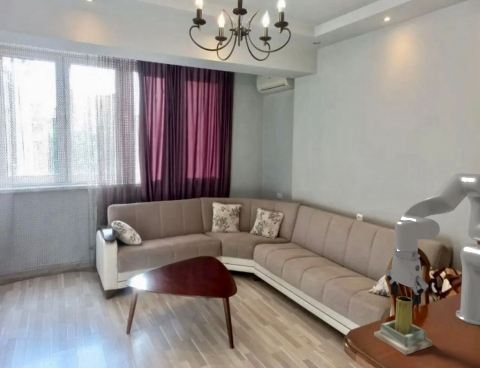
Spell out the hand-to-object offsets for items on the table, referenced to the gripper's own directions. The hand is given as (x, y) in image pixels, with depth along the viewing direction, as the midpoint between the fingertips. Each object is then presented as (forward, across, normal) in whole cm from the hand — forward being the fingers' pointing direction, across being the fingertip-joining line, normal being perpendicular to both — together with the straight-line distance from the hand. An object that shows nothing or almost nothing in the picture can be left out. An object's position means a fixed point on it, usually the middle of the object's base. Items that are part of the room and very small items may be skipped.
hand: (405, 299), depth 127 cm
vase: (+14, 0, +1) cm, 14 cm away
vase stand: (+16, 0, +1) cm, 16 cm away
